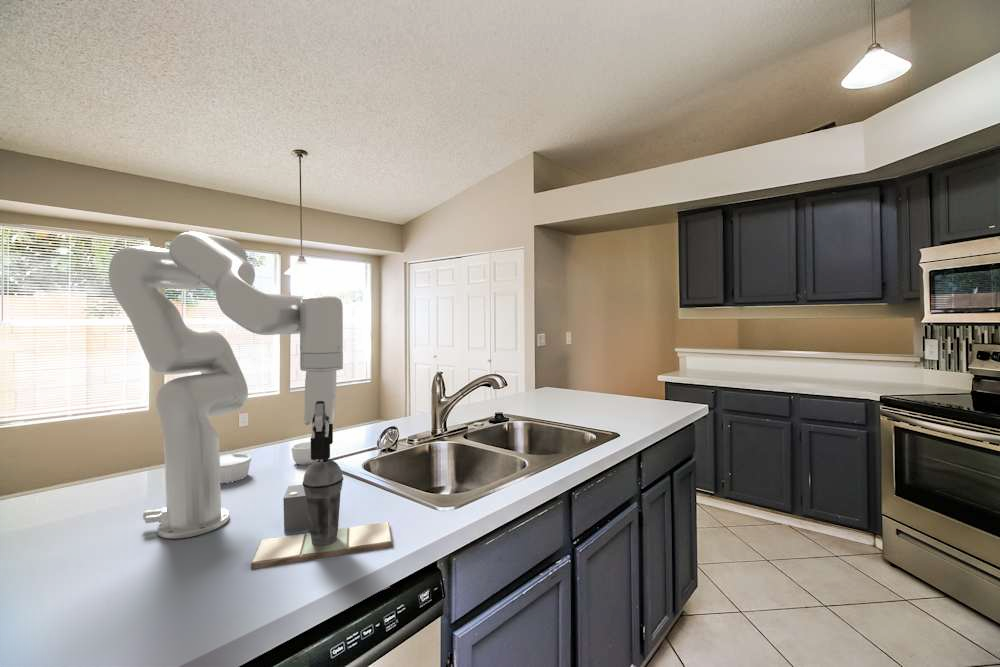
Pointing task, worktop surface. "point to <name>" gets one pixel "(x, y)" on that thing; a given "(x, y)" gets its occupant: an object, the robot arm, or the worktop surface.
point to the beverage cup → (323, 500)
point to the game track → (303, 548)
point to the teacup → (302, 453)
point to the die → (295, 509)
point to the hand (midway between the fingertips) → (322, 451)
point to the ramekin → (234, 467)
